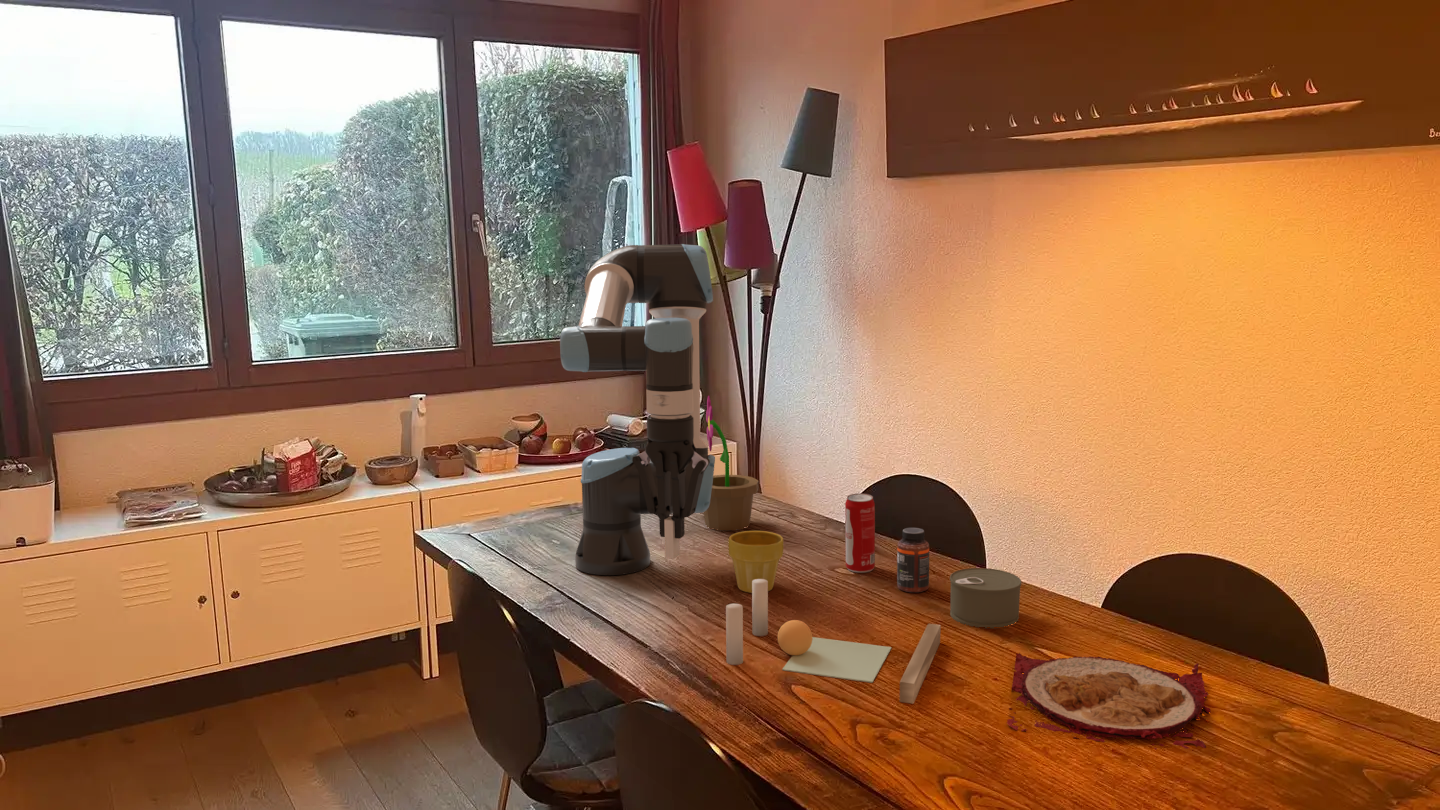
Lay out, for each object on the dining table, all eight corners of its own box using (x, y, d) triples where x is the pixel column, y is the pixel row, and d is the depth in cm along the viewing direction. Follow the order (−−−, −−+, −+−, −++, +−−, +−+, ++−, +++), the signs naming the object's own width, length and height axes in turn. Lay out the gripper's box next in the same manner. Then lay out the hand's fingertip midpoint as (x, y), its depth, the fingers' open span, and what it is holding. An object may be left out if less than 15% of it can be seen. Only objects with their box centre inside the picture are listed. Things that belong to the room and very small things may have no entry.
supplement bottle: (932, 585, 199) (933, 527, 198) (924, 595, 194) (925, 536, 192) (901, 581, 202) (902, 524, 200) (892, 591, 197) (893, 532, 195)
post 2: (750, 634, 176) (749, 583, 174) (755, 629, 178) (754, 578, 177) (765, 636, 175) (764, 584, 173) (769, 631, 177) (769, 579, 176)
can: (1033, 624, 179) (1035, 586, 178) (970, 632, 176) (971, 593, 175) (996, 601, 191) (998, 565, 190) (936, 608, 188) (937, 571, 187)
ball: (785, 619, 164) (812, 644, 163) (797, 608, 169) (823, 631, 168) (766, 643, 166) (792, 667, 165) (778, 631, 171) (803, 654, 170)
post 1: (724, 663, 164) (723, 608, 163) (729, 657, 167) (729, 602, 165) (739, 665, 163) (739, 610, 162) (745, 659, 166) (744, 604, 164)
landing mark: (782, 670, 162) (782, 668, 161) (807, 637, 174) (807, 636, 174) (872, 682, 157) (872, 681, 157) (891, 648, 170) (891, 647, 170)
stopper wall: (899, 701, 150) (899, 681, 150) (927, 641, 172) (928, 623, 172) (913, 703, 150) (913, 683, 149) (940, 642, 172) (940, 624, 171)
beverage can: (874, 564, 212) (875, 492, 210) (875, 574, 206) (876, 500, 204) (844, 563, 213) (845, 491, 211) (844, 574, 207) (845, 499, 204)
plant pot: (789, 581, 203) (789, 532, 201) (774, 599, 193) (774, 547, 191) (738, 576, 206) (738, 528, 204) (721, 593, 196) (720, 542, 195)
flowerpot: (693, 518, 249) (692, 392, 244) (754, 515, 250) (753, 390, 245) (699, 534, 235) (697, 401, 230) (763, 532, 236) (762, 400, 231)
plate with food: (1016, 665, 165) (1016, 643, 164) (1201, 682, 156) (1202, 659, 156) (1005, 738, 142) (1005, 713, 141) (1222, 762, 133) (1223, 736, 133)
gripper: (623, 416, 168) (626, 559, 172) (699, 420, 164) (701, 567, 167) (642, 409, 175) (645, 546, 179) (716, 413, 170) (717, 553, 174)
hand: (672, 556), depth 173 cm, fingers closed
